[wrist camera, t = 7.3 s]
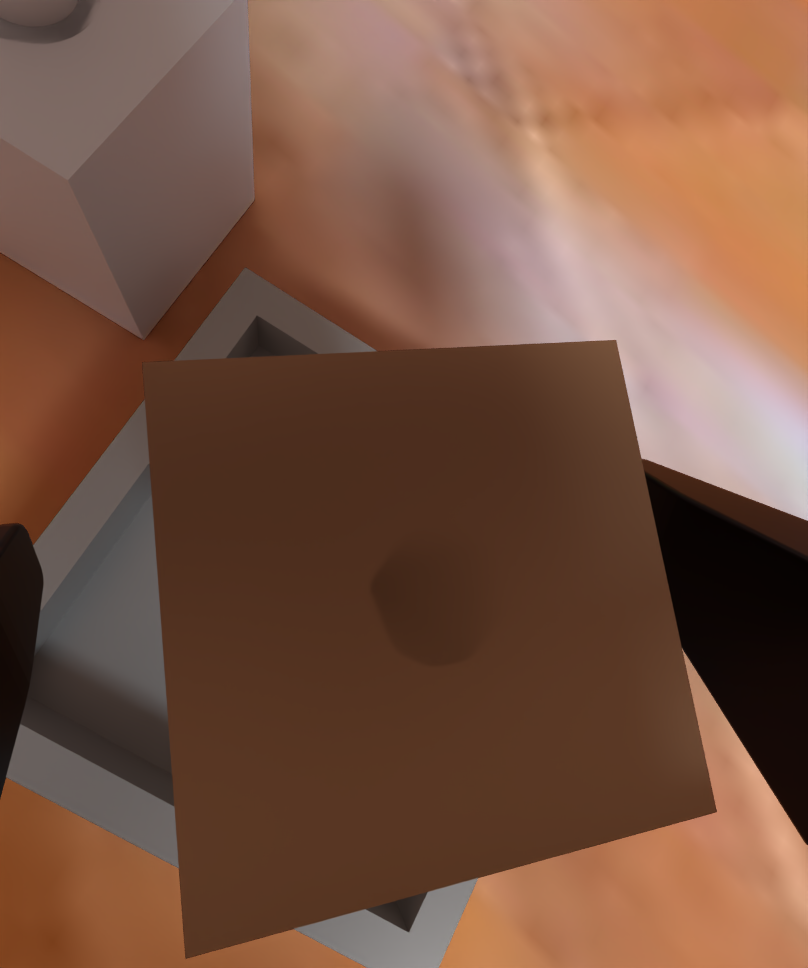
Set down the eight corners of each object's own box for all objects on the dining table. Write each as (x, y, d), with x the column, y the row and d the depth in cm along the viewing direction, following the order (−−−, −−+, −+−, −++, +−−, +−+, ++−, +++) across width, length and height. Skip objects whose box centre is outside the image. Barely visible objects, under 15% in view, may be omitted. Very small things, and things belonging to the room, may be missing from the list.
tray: (400, 935, 16) (425, 998, 14) (-38, 701, 15) (-101, 721, 12) (589, 527, 20) (637, 516, 17) (248, 313, 19) (245, 267, 16)
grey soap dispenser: (143, 340, 18) (-40, -44, 7) (-41, 227, 17) (-527, -365, 7) (254, 199, 19) (237, -280, 9) (90, 93, 19) (-136, -551, 8)
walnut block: (410, 669, 17) (716, 812, 5) (246, 699, 16) (185, 959, 4) (388, 512, 18) (616, 339, 6) (230, 530, 16) (142, 362, 5)
